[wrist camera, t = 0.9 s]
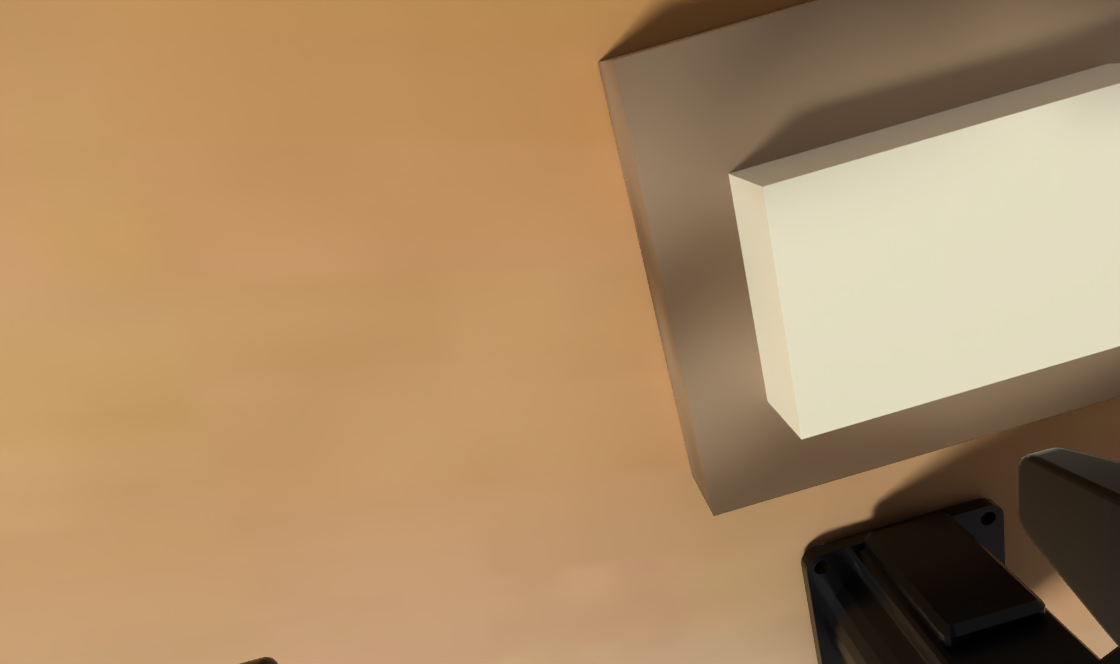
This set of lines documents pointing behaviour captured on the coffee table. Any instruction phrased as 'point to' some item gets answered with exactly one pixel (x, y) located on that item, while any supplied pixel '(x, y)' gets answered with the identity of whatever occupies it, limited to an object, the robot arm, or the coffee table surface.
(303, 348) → the coffee table surface
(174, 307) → the coffee table surface
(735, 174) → the tile
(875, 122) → the plate
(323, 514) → the coffee table surface
